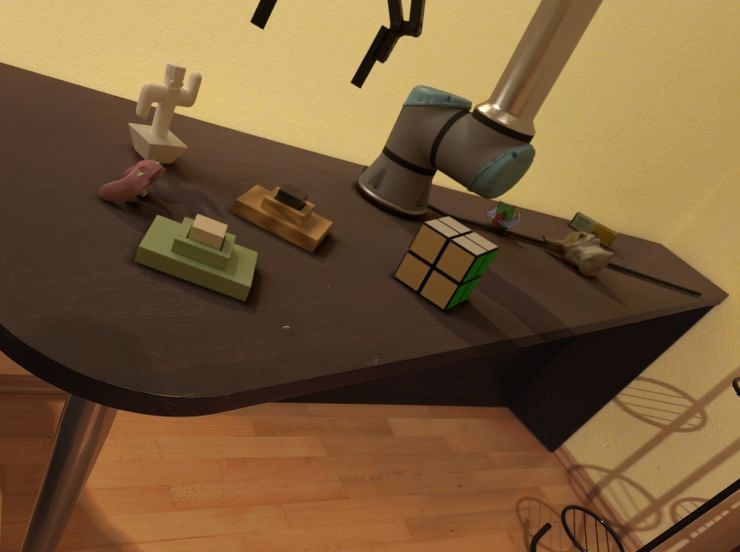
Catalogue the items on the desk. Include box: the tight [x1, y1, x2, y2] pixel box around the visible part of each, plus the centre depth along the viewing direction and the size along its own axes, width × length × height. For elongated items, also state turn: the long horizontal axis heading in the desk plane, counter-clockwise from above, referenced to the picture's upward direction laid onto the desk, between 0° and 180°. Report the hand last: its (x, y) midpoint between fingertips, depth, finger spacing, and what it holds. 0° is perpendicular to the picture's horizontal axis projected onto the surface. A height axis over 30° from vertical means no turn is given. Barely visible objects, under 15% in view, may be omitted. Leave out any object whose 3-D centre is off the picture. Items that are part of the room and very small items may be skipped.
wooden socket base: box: [231, 184, 334, 253], centre depth 100 cm, size 14×10×4 cm
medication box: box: [568, 211, 619, 248], centre depth 172 cm, size 12×3×4 cm, turn 46°
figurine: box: [127, 61, 203, 165], centre depth 100 cm, size 7×9×15 cm
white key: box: [188, 213, 229, 250], centre depth 78 cm, size 4×4×2 cm
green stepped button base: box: [134, 214, 259, 302], centre depth 80 cm, size 14×10×4 cm
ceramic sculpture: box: [541, 230, 615, 278], centre depth 142 cm, size 11×9×15 cm
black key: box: [275, 182, 310, 211], centre depth 99 cm, size 4×4×2 cm
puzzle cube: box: [393, 216, 500, 312], centre depth 100 cm, size 10×10×10 cm
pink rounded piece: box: [98, 158, 166, 203], centre depth 88 cm, size 10×5×7 cm, turn 168°
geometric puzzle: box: [484, 199, 521, 236], centre depth 142 cm, size 7×7×8 cm
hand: (305, 56), depth 72 cm, fingers open, 13 cm apart
